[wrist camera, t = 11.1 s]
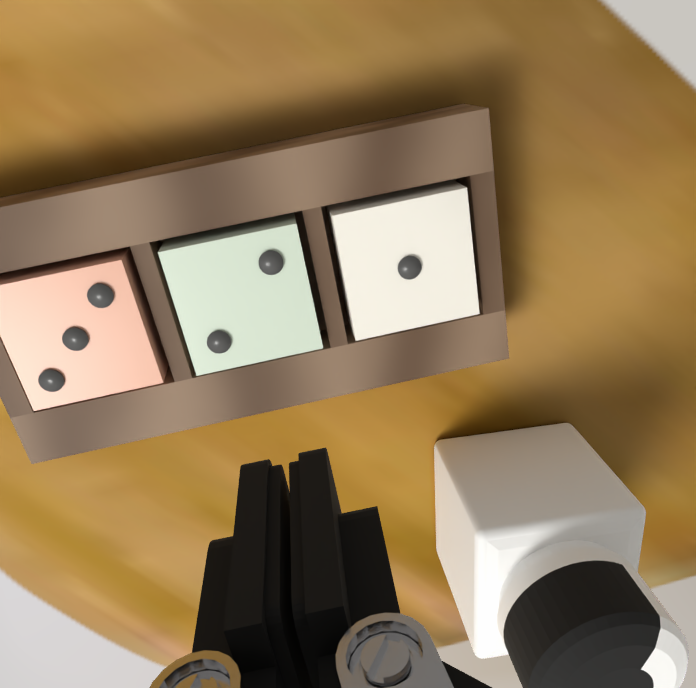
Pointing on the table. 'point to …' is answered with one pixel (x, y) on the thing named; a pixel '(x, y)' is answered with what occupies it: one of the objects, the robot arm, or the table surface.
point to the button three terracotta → (80, 329)
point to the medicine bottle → (551, 562)
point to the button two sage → (241, 293)
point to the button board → (319, 255)
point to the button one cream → (405, 258)
